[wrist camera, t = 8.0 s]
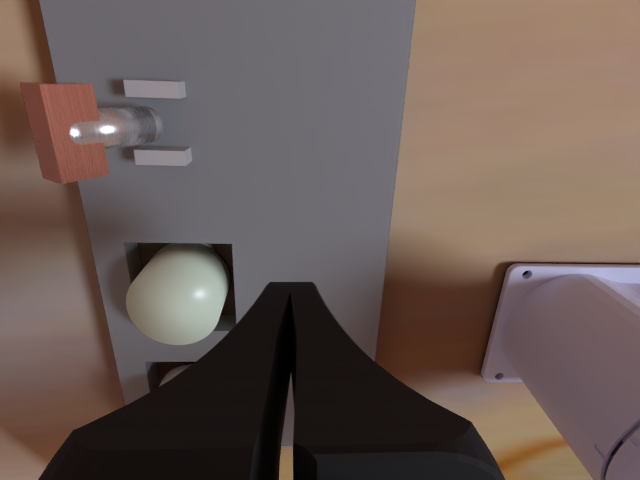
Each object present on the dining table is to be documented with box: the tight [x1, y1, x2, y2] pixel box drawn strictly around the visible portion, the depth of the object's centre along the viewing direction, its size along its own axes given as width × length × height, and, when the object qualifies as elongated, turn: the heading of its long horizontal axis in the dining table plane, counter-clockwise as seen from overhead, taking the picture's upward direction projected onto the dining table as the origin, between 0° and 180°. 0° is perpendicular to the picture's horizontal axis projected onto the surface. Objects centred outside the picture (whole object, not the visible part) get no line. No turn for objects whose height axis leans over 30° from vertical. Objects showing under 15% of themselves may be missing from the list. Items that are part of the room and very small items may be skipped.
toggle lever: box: [20, 83, 164, 184], centre depth 14 cm, size 1×3×4 cm
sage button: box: [126, 243, 230, 345], centre depth 19 cm, size 4×4×3 cm
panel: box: [39, 0, 416, 446], centre depth 19 cm, size 14×24×2 cm, turn 178°
